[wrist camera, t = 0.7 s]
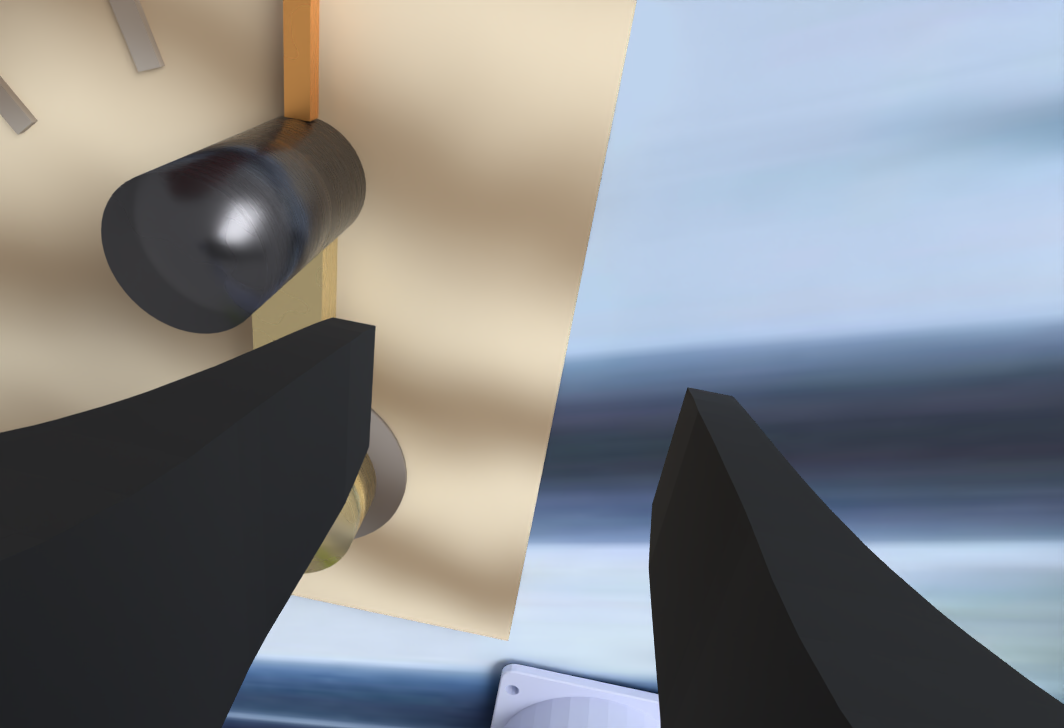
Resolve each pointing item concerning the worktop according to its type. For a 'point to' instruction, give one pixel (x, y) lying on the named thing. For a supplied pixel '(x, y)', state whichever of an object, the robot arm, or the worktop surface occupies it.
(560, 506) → the worktop surface
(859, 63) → the worktop surface
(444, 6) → the dial board
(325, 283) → the lever
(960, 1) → the worktop surface
